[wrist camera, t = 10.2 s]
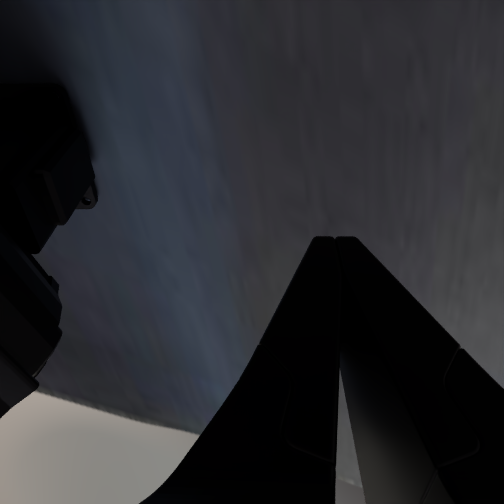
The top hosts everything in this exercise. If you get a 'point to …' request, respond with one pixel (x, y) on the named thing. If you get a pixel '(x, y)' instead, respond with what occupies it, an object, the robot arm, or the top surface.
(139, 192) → the top surface
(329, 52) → the top surface
